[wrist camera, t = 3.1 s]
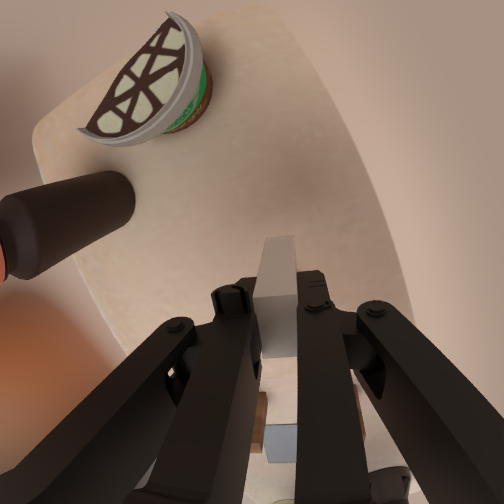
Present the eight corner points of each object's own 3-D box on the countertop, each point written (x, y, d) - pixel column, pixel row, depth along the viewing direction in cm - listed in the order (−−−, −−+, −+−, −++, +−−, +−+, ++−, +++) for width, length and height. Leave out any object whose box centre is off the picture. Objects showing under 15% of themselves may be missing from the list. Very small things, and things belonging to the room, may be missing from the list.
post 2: (354, 396, 35) (363, 445, 27) (336, 398, 36) (342, 448, 27) (355, 384, 35) (365, 435, 26) (337, 386, 35) (344, 438, 27)
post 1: (267, 403, 38) (261, 453, 29) (250, 403, 38) (241, 452, 29) (265, 392, 37) (259, 443, 28) (247, 392, 37) (237, 442, 29)
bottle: (119, 159, 28) (-39, 191, 9) (146, 210, 30) (2, 292, 11) (82, 189, 30) (-56, 241, 11) (106, 237, 31) (-21, 320, 13)
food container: (171, 170, 28) (120, 181, 19) (132, 135, 27) (73, 135, 18) (251, 78, 24) (232, 42, 15) (206, 45, 23) (170, 5, 14)
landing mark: (341, 458, 42) (341, 458, 42) (268, 462, 44) (268, 463, 44) (347, 419, 37) (347, 419, 37) (259, 424, 40) (259, 425, 39)
